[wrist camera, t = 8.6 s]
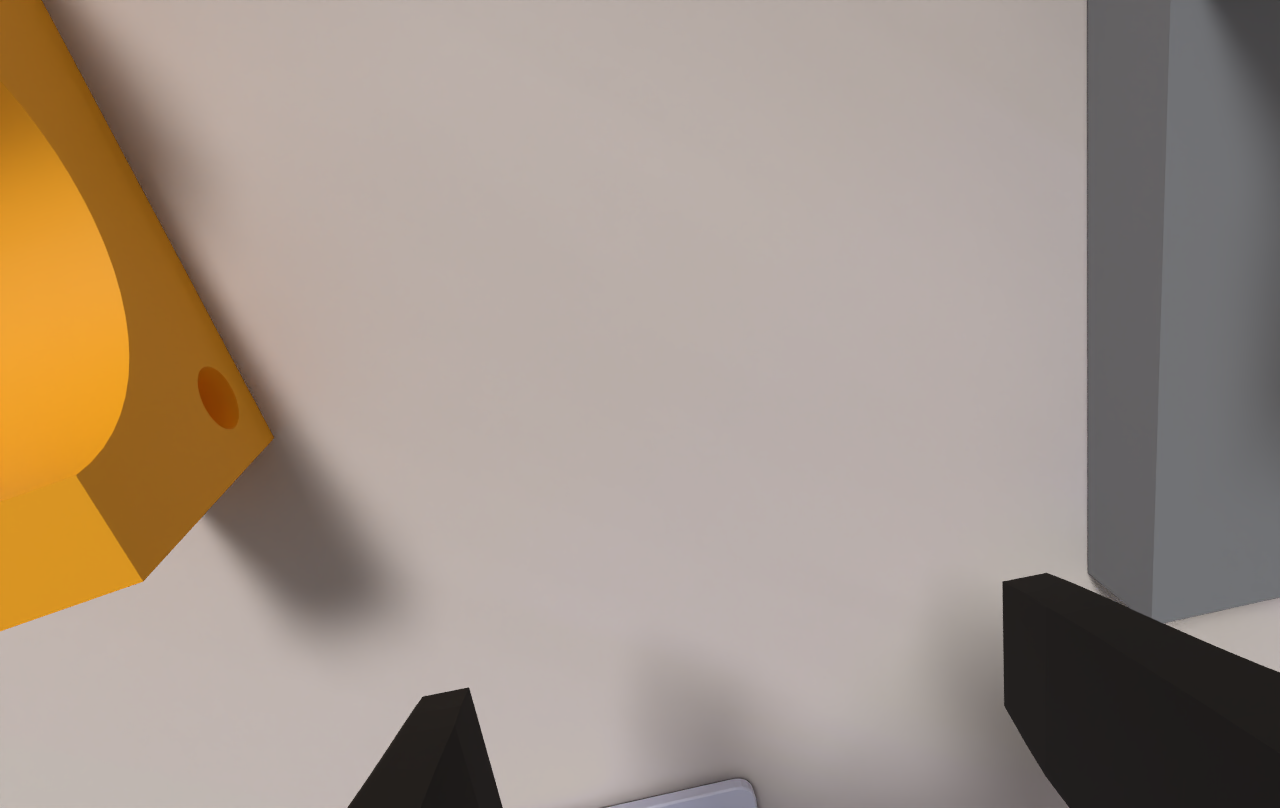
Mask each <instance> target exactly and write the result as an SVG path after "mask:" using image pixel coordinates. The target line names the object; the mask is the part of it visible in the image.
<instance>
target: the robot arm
mask: <svg viewBox="0 0 1280 808" xmlns="http://www.w3.org/2000/svg"><path fill="white" fill-rule="evenodd" d="M1003 645H1004V706H1005V708H1006V710H1007V711H1008V713H1009V715H1010V717H1011V718H1012V720H1013V722H1014V724H1015V725H1016V727H1017V729H1018V731H1019V732H1020V734H1021V736H1022V738H1023V739H1024V741H1025V743H1026V745H1027V746H1028V748H1029V750H1030V751H1031V753H1032V754H1033V756H1034V758H1035V759H1036V761H1037V763H1038V764H1039V766H1040V768H1041V769H1042V771H1043V772H1044V774H1045V776H1046V777H1047V778H1048V780H1049V781H1050V782H1051V784H1052V785H1053V787H1054V788H1055V789H1056V791H1057V792H1058V793H1059V795H1060V796H1061V797H1062V799H1063V800H1064V801H1065V802H1066V804H1067V805H1068V806H1069V808H1280V672H1277V671H1275V670H1272V669H1269V668H1267V667H1264V666H1262V665H1259V664H1257V663H1254V662H1252V661H1250V660H1247V659H1245V658H1242V657H1240V656H1237V655H1235V654H1233V653H1230V652H1228V651H1225V650H1223V649H1221V648H1218V647H1216V646H1214V645H1211V644H1209V643H1207V642H1204V641H1202V640H1200V639H1197V638H1195V637H1193V636H1191V635H1188V634H1186V633H1184V632H1181V631H1179V630H1177V629H1175V628H1172V627H1170V626H1168V625H1166V624H1163V623H1161V622H1159V621H1157V620H1154V619H1152V618H1150V617H1148V616H1146V615H1143V614H1141V613H1139V612H1137V611H1134V610H1132V609H1130V608H1128V607H1126V606H1123V605H1121V604H1119V603H1117V602H1114V601H1112V600H1110V599H1108V598H1106V597H1103V596H1101V595H1099V594H1097V593H1094V592H1092V591H1090V590H1087V589H1085V588H1083V587H1081V586H1078V585H1076V584H1074V583H1071V582H1069V581H1066V580H1064V579H1061V578H1059V577H1056V576H1053V575H1051V574H1048V573H1044V574H1039V575H1034V576H1029V577H1024V578H1019V579H1014V580H1009V581H1004V582H1003ZM348 808H503V807H502V804H501V800H500V797H499V793H498V789H497V786H496V782H495V779H494V775H493V772H492V768H491V764H490V761H489V757H488V754H487V750H486V747H485V743H484V739H483V736H482V732H481V729H480V725H479V721H478V718H477V714H476V711H475V707H474V704H473V700H472V696H471V693H470V689H469V688H464V689H459V690H454V691H449V692H444V693H439V694H434V695H429V696H424V697H422V699H421V700H420V701H419V703H418V704H417V705H416V707H415V708H414V710H413V711H412V713H411V714H410V716H409V717H408V719H407V720H406V722H405V723H404V725H403V726H402V728H401V729H400V731H399V732H398V734H397V735H396V737H395V738H394V740H393V741H392V743H391V744H390V746H389V747H388V749H387V750H386V752H385V753H384V755H383V756H382V758H381V759H380V761H379V762H378V764H377V765H376V767H375V768H374V770H373V771H372V773H371V774H370V776H369V777H368V779H367V780H366V782H365V783H364V785H363V786H362V788H361V789H360V790H359V792H358V793H357V795H356V796H355V798H354V799H353V800H352V802H351V803H350V805H349V806H348ZM606 808H757V802H756V797H755V793H754V790H753V787H752V785H751V784H750V783H749V782H748V781H747V780H744V779H731V780H726V781H722V782H717V783H713V784H709V785H704V786H700V787H695V788H691V789H686V790H682V791H677V792H673V793H669V794H664V795H660V796H655V797H651V798H646V799H642V800H637V801H633V802H629V803H624V804H620V805H615V806H611V807H606Z"/></svg>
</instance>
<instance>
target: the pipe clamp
mask: <svg viewBox="0 0 1280 808" xmlns="http://www.w3.org/2000/svg"><path fill="white" fill-rule="evenodd" d="M273 439H274V437H273V435H272V433H271V431H270V429H269V427H268V425H267V424H266V422H265V420H264V418H263V416H262V414H261V412H260V410H259V408H258V407H257V405H256V403H255V401H254V399H253V397H252V395H251V393H250V392H249V390H248V388H247V386H246V384H245V382H244V380H243V378H242V376H241V375H240V373H239V371H238V369H237V367H236V365H235V363H234V361H233V360H232V358H231V356H230V354H229V352H228V350H227V348H226V346H225V344H224V343H223V341H222V339H221V337H220V335H219V333H218V331H217V329H216V328H215V326H214V324H213V322H212V320H211V318H210V316H209V314H208V312H207V311H206V309H205V307H204V305H203V303H202V301H201V299H200V297H199V296H198V294H197V292H196V290H195V288H194V286H193V284H192V282H191V280H190V279H189V277H188V275H187V273H186V271H185V269H184V267H183V265H182V264H181V262H180V260H179V258H178V256H177V254H176V252H175V250H174V248H173V247H172V245H171V243H170V241H169V239H168V237H167V235H166V233H165V232H164V230H163V228H162V226H161V224H160V222H159V220H158V218H157V216H156V215H155V213H154V211H153V209H152V207H151V205H150V203H149V201H148V199H147V198H146V196H145V194H144V192H143V190H142V188H141V186H140V184H139V183H138V181H137V179H136V177H135V175H134V173H133V171H132V169H131V167H130V166H129V164H128V162H127V160H126V158H125V156H124V154H123V152H122V151H121V149H120V147H119V145H118V143H117V141H116V139H115V137H114V135H113V134H112V132H111V130H110V128H109V126H108V124H107V122H106V120H105V119H104V117H103V115H102V113H101V111H100V109H99V107H98V105H97V103H96V102H95V100H94V98H93V96H92V94H91V92H90V90H89V88H88V87H87V85H86V83H85V81H84V79H83V77H82V75H81V73H80V71H79V70H78V68H77V66H76V64H75V62H74V60H73V58H72V56H71V55H70V53H69V51H68V49H67V47H66V45H65V43H64V41H63V39H62V38H61V36H60V34H59V32H58V30H57V28H56V26H55V24H54V23H53V21H52V19H51V17H50V15H49V13H48V11H47V9H46V7H45V6H44V4H43V2H42V0H0V631H2V630H5V629H8V628H11V627H14V626H17V625H20V624H22V623H25V622H28V621H31V620H34V619H37V618H40V617H43V616H45V615H48V614H51V613H54V612H57V611H60V610H63V609H66V608H68V607H71V606H74V605H77V604H80V603H83V602H86V601H89V600H91V599H94V598H97V597H100V596H103V595H106V594H109V593H111V592H114V591H117V590H120V589H123V588H126V587H129V586H132V585H134V584H137V583H140V582H143V581H144V580H145V579H146V578H147V577H148V576H149V575H150V573H151V572H152V571H153V570H154V569H155V568H156V567H157V566H158V565H159V564H160V562H161V561H162V560H163V559H164V558H165V557H166V556H167V555H168V554H169V553H170V551H171V550H172V549H173V548H174V547H175V546H176V545H177V544H178V543H179V542H180V541H181V539H182V538H183V537H184V536H185V535H186V534H187V533H188V532H189V531H190V530H191V528H192V527H193V526H194V525H195V524H196V523H197V522H198V521H199V520H200V519H201V518H202V516H203V515H204V514H205V513H206V512H207V511H208V510H209V509H210V508H211V507H212V505H213V504H214V503H215V502H216V501H217V500H218V499H219V498H220V497H221V496H222V494H223V493H224V492H225V491H226V490H227V489H228V488H229V487H230V486H231V485H232V484H233V482H234V481H235V480H236V479H237V478H238V477H239V476H240V475H241V474H242V473H243V471H244V470H245V469H246V468H247V467H248V466H249V465H250V464H251V463H252V462H253V461H254V459H255V458H256V457H257V456H258V455H259V454H260V453H261V452H262V451H263V450H264V448H265V447H266V446H267V445H268V444H269V443H270V442H271V441H272V440H273Z"/></svg>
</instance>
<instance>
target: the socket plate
mask: <svg viewBox="0 0 1280 808" xmlns="http://www.w3.org/2000/svg"><path fill="white" fill-rule="evenodd" d="M1088 573H1089V574H1090V575H1091V576H1092V577H1094V578H1095V579H1096V580H1097V581H1098V582H1100V583H1101V584H1102V585H1103V586H1104V587H1106V588H1107V589H1108V590H1109V591H1110V592H1112V593H1113V594H1114V595H1115V596H1116V597H1117V598H1119V599H1120V600H1121V601H1122V602H1123V603H1125V604H1126V605H1127V606H1128V607H1129V608H1131V609H1132V610H1134V611H1137V612H1139V613H1141V614H1143V615H1146V616H1148V617H1150V618H1152V619H1154V620H1157V621H1159V622H1161V623H1167V622H1171V621H1176V620H1180V619H1185V618H1189V617H1194V616H1198V615H1203V614H1207V613H1212V612H1216V611H1221V610H1225V609H1230V608H1234V607H1239V606H1243V605H1248V604H1252V603H1257V602H1261V601H1266V600H1270V599H1275V598H1279V597H1280V0H1088Z"/></svg>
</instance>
